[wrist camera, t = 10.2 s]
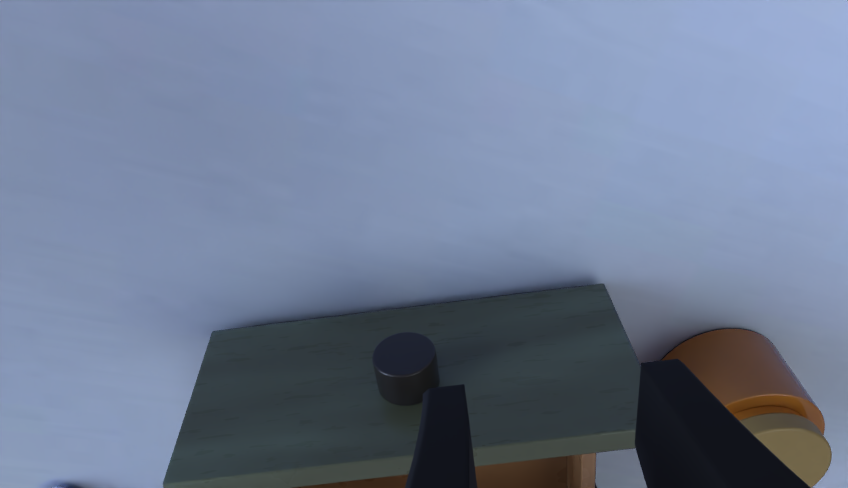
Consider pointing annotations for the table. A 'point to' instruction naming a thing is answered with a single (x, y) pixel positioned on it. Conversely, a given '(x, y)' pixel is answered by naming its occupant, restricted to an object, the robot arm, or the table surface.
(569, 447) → the drawer
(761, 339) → the jar
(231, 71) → the table surface
